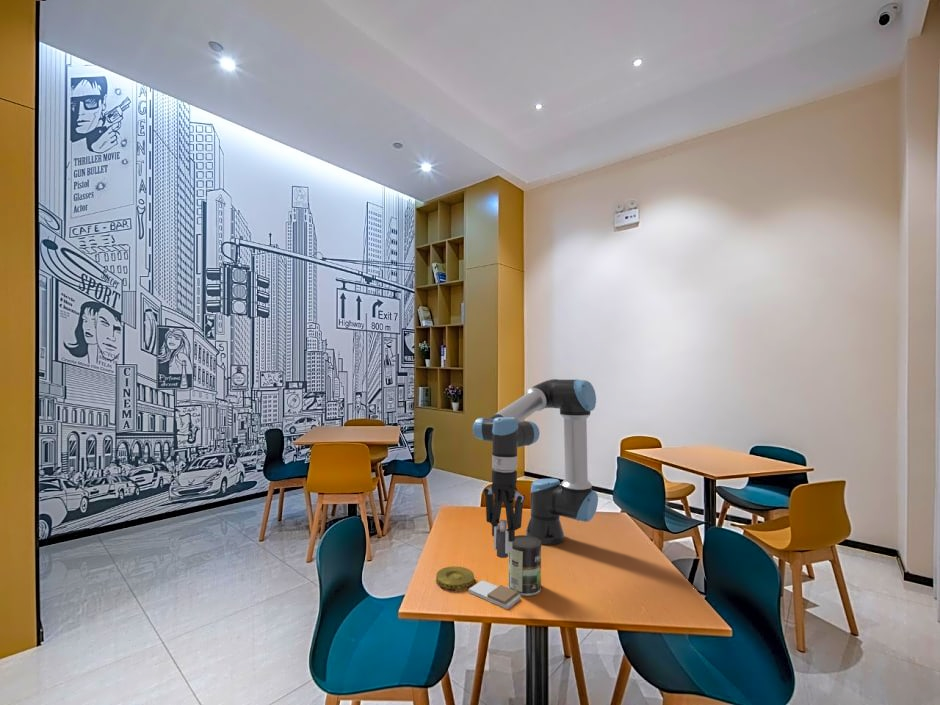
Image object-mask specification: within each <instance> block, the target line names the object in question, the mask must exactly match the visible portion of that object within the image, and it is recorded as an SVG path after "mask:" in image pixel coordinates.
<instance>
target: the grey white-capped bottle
mask: <svg viewBox="0 0 940 705" xmlns="http://www.w3.org/2000/svg"><path fill="white" fill-rule="evenodd" d="M499 522H500V523H499V524H500V529H499V530H497V550H496V556H497V557H498V558H501V559H507V558H509V553H508V554H506V553H505V532H506V530H507V529H508V525H507V519H500V520H499Z"/></svg>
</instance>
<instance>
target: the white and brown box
mask: <svg viewBox="0 0 940 705" xmlns="http://www.w3.org/2000/svg"><path fill="white" fill-rule="evenodd" d="M468 593H469V594H472V595H473V596H476V597H477V598H478V597H479V598H481V599H483V600H484V601H487V602H490V603H492V604H493V605H494V604H495V605H497V606H499V607H501V608H504V609H506V610H509V609H510V608H512V606H514V605H515V604H516V603H517V602H519V601H520V600H521V597H522V595H518V592H517V591H515V590H512V589H510V588H508V586H504V585H502V584H500V585H495V584H493V583H491V582H487V581H485V580H480V581H479V582H478V583H475V584H474V585H473V586H470V587H468Z"/></svg>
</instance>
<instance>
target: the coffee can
mask: <svg viewBox="0 0 940 705" xmlns="http://www.w3.org/2000/svg"><path fill="white" fill-rule="evenodd" d="M541 576H542V544H541V541H540V540H539V539H537V538H535V537H532V536H527V535H526V534H524V535H523V534H522V535H521V534H519V535H515V540H514V541H513V542H512V551H511V552H510V553H508V577H507V578H508V580H507V581H508V583H507V584H508V585H507V588H510V589H512V590H515V591H517V592H518V595H520V596H521V597H522V596H524V597H531V596H536V595H537V594H539V593H541V591H542V587H541V586H542V583H541V582H542V577H541Z"/></svg>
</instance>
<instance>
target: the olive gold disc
mask: <svg viewBox="0 0 940 705" xmlns="http://www.w3.org/2000/svg"><path fill="white" fill-rule="evenodd" d="M435 577H436V578H435V579H436V580H435V583H436V585H437V586H438V587H439V588H444V589H447V590H454V592H461V591H465V590H467V588H470V587H471V586H472V585H473V583H474V581H475V574H474V572H473V571H472V570H470V569H469V568H467V567H464V566H463V567H462V566H455V565H454V566H446V567H443V568H441V569H439V570H437V572H436V575H435Z"/></svg>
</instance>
